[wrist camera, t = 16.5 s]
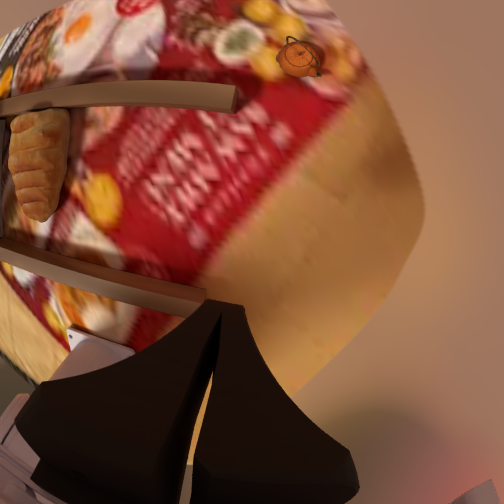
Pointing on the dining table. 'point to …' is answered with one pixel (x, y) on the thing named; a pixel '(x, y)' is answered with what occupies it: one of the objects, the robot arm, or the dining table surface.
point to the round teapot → (298, 59)
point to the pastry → (39, 160)
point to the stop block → (0, 136)
